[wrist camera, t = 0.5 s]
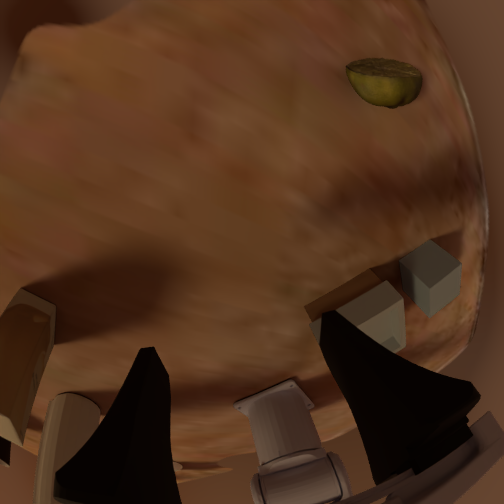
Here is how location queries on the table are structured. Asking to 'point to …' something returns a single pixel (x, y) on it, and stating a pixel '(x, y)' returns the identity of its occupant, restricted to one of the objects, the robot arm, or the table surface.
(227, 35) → the table surface
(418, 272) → the grey small block
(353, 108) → the table surface
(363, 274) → the walnut block
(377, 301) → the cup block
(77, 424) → the paper towel roll
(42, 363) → the skincare box
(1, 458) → the coffee mug
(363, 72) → the lime
